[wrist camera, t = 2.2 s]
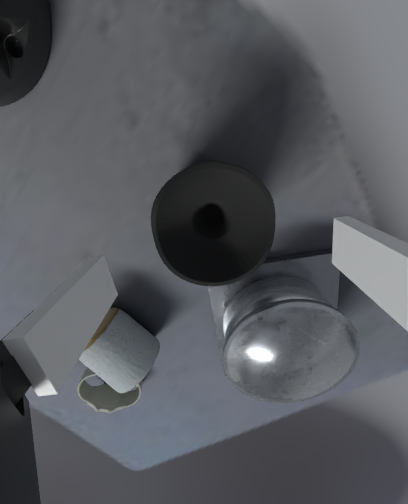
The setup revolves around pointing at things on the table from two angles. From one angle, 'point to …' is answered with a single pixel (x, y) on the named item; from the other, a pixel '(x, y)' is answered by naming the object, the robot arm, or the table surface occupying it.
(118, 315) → the ceramic mug
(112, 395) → the beige oval ring
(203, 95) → the table surface
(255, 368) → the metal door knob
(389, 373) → the table surface
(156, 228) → the pen holder
